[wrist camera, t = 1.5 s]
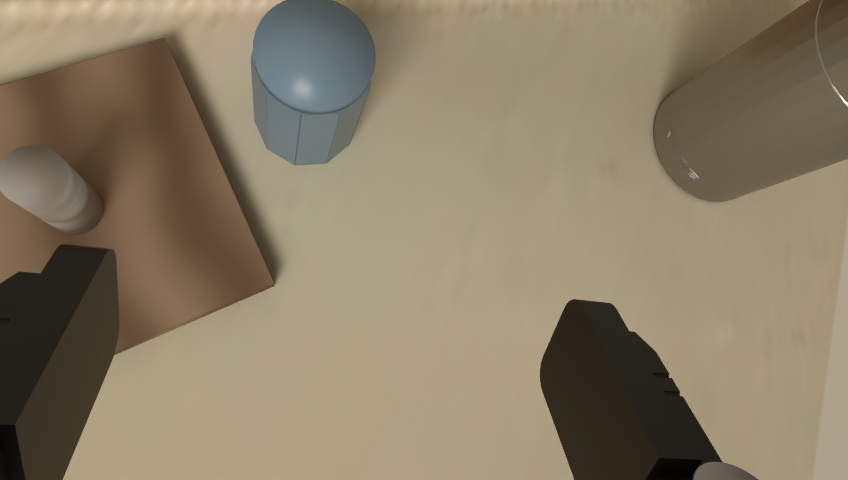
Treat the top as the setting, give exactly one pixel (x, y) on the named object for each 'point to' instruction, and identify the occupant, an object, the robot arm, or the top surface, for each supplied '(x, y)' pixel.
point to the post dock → (124, 188)
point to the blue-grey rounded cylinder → (310, 78)
